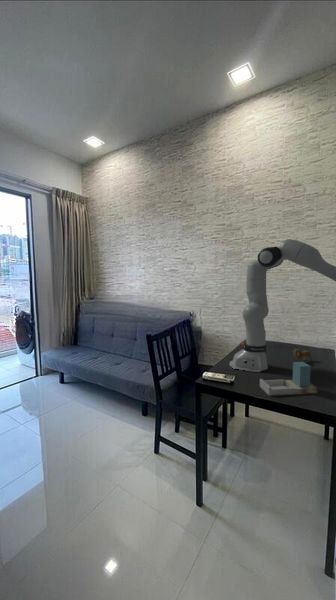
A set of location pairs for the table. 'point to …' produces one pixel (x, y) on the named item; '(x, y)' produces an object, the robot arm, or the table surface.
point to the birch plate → (300, 389)
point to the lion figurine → (301, 355)
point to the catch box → (276, 387)
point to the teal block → (301, 374)
